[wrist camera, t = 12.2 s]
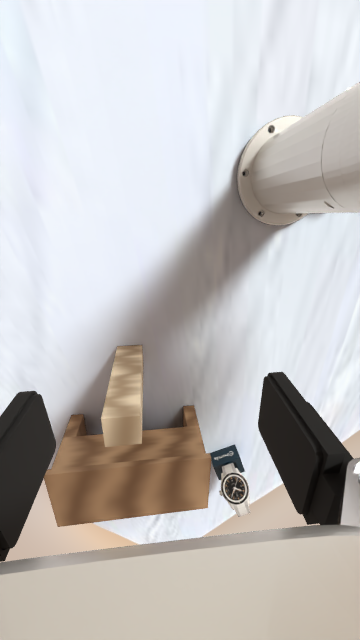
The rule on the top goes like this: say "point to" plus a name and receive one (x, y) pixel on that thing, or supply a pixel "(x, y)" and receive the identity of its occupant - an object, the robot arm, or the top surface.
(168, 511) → the cabinet
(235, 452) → the watch
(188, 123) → the top surface
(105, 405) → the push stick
